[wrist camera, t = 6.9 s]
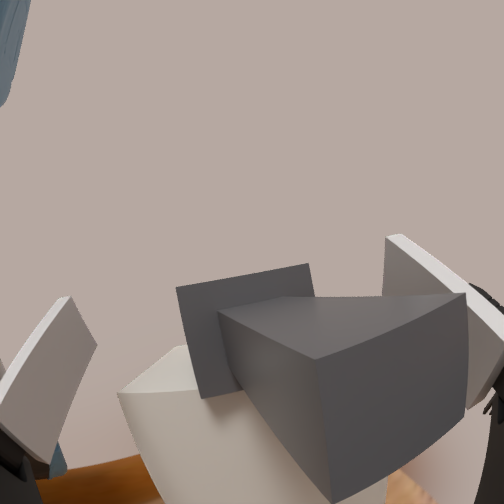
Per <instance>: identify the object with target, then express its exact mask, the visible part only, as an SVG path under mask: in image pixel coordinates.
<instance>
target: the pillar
mask: <svg viewBox="0 0 504 504" xmlns="http://www.w3.org/2000/svg"><path fill="white" fill-rule="evenodd" d="M117 395H118V398H119V401H120V404H121V407H122V410H123V412H124V415H125V418H126V421H127V423H128V426H129V429H130V431H131V434H132V436H133V438H134V441H135V443H136V445H137V448H138V450H139V453H140V455H141V457H142V459H143V462H144V464H145V466H146V468H147V470H148V472H149V474H150V476H151V478H152V480H153V482H154V484H155V486H156V488H157V490H158V492H159V493H160V495H161V497H162V499H163V501H164V502H165V504H331V503H330V502H329V501H328V500H327V499H326V498H325V497H324V495H323V494H322V493H321V492H320V491H319V490H318V488H317V487H316V486H315V485H314V484H313V483H312V481H311V480H310V479H309V478H308V476H307V475H306V474H305V473H304V472H303V470H302V469H301V468H300V467H299V465H298V464H297V463H296V462H295V460H294V459H293V458H292V456H291V455H290V454H289V453H288V451H287V450H286V449H285V447H284V446H283V445H282V443H281V442H280V441H279V439H278V438H277V437H276V435H275V434H274V433H273V431H272V430H271V429H270V427H269V426H268V424H267V423H266V422H265V420H264V419H263V417H262V416H261V415H260V413H259V412H258V410H257V409H256V407H255V406H254V404H253V403H252V402H251V400H250V399H249V397H248V396H247V394H246V393H245V391H244V390H242V391H237V392H233V393H229V394H224V395H220V396H215V397H210V398H205V399H201V397H200V394H199V390H198V386H197V382H196V379H195V375H194V371H193V367H192V362H191V358H190V354H189V350H188V345H181V346H175V347H174V348H173V349H172V350H171V351H169V352H168V353H167V354H166V355H165V356H163V357H162V358H161V359H160V360H158V361H157V362H156V363H155V364H153V365H152V366H151V367H150V368H148V369H147V370H146V371H144V372H143V373H142V374H141V375H139V376H138V377H137V378H136V379H134V380H133V381H132V382H131V383H129V384H128V385H127V386H125V387H124V388H123V389H122V390H121V391H119V392H118V393H117ZM387 482H388V476H387V477H385V478H383V479H382V480H380V481H378V482H377V483H375V484H373V485H371V486H370V487H368V488H366V489H364V490H362V491H360V492H358V493H356V494H355V495H353V496H351V497H349V498H347V499H344V500H342V501H340V502H338V503H336V504H385V500H386V492H387Z"/></svg>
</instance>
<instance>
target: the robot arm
mask: <svg viewBox="0 0 504 504" xmlns="http://www.w3.org/2000/svg"><path fill="white" fill-rule="evenodd" d="M30 2H31V0H0V107H1V106H2V105H3V104H4V103H5V101H6V99H7V97H8V95H9V92H10V88H11V82H12V80H13V78H14V75H15V71H16V66H17V62H18V57H19V53H20V48H21V44H22V39H23V35H24V30H25V26H26V21H27V16H28V12H29V7H30ZM384 259H385V260H384V275H383V276H384V277H383V288H382V296H407V295H430V294H448V293H464V292H466V300H467V313H468V334H469V363H468V383H467V396H466V405H465V407H466V408H467V410H468V409H470V408H472V407H473V406H475V405H476V404H477V403H479V402H481V401H482V400H483V399H484V398H485V397H486V395H487V394H488V392H489V391H490V389H491V388H492V387H493V388H494V390H495V391H496V393H495V394H494V396H493V397H492V399H491V400H490V401H489V403H488V404H487V406H486V407H485V408H484V411H483V414H486V413H487V411H488V410H489V409H490V407H491V406H492V410H491V412H490V413H489V415H492V416H491V425H490V433H489V441H488V447H487V453H486V458H485V463H484V468H483V472H482V477H481V481H480V484H479V488H478V492H477V495H476V498H475V502H474V504H504V307H503V306H500V304H499V303H498V302H497V301H496V300H495V299H492V297H491V296H490V295H489V294H488V293H487V292H485V291H484V290H483V289H481V288H479V287H477V286H475V285H473V284H471V283H469V284H468V283H466V282H465V281H464V280H463V279H461V278H460V277H459V276H458V275H457V274H455V273H454V272H453V271H451V270H450V269H449V268H447V267H446V266H445V265H444V264H442V263H441V262H440V261H438V260H437V259H436V258H434V257H433V256H432V255H430V254H429V253H428V252H426V251H425V250H424V249H422V248H420V247H419V246H418V245H416V244H415V243H414V242H412V241H411V240H409V239H408V238H407V237H405V236H404V235H402V234H396V235H391V236H386V237H385V258H384ZM96 347H97V343H96V342H95V340H94V338H93V337H92V335H91V333H90V331H89V329H88V328H87V326H86V324H85V322H84V320H83V319H82V317H81V315H80V313H79V311H78V309H77V307H76V305H75V303H74V301H73V299H72V297H71V296H68V297H62V298H59V299H58V300H57V301H56V302H55V304H54V305H53V306H52V307H51V309H50V310H49V311H48V313H47V314H46V315H45V316H44V318H43V319H42V320H41V322H40V323H39V324H38V326H37V327H36V328H35V330H34V331H33V333H32V334H31V335H30V337H29V338H28V340H27V341H26V342H25V344H24V345H23V347H22V348H21V350H20V351H19V353H18V354H17V356H16V357H15V359H14V360H13V362H12V363H11V365H10V366H9V368H8V370H7V371H5V368H4V366H3V364H2V362H1V359H0V504H43V502H42V499H41V496H40V494H39V491H38V488H37V485H36V482H35V480H41V479H48V480H49V479H52V478H53V477H58V476H62V475H64V474H66V472H67V464H66V462H65V459H64V456H63V454H62V451H61V448H60V446H59V443H58V438H59V435H60V433H61V430H62V427H63V424H64V422H65V419H66V416H67V414H68V411H69V409H70V406H71V404H72V401H73V399H74V396H75V394H76V391H77V389H78V387H79V384H80V382H81V379H82V377H83V375H84V373H85V370H86V368H87V366H88V364H89V362H90V360H91V357H92V355H93V353H94V351H95V349H96Z"/></svg>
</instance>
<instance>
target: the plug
mask: <svg viewBox="0 0 504 504" xmlns="http://www.w3.org/2000/svg"><path fill="white" fill-rule="evenodd" d="M176 292H177V296H178V302H179V307H180V313H181V317H182V322H183V327H184V332H185V336H186V341H187V345H188V350H189V354H190V358H191V362H192V367H193V371H194V375H195V379H196V382H197V386H198V390H199V394H200V397H201V399H205V398H210V397H215V396H220V395H224V394H229V393H233V392H237V391H242V390H244V391H245V393H246V394H247V396H248V397H249V399H250V400H251V402H252V403H253V404H254V406H255V407H256V409H257V410H258V412H259V413H260V415H261V416H262V417H263V419H264V420H265V422H266V423H267V424H268V426H269V427H270V429H271V430H272V431H273V433H274V434H275V435H276V437H277V438H278V439H279V441H280V442H281V443H282V445H283V446H284V447H285V449H286V450H287V451H288V453H289V454H290V455H291V456H292V458H293V459H294V460H295V462H296V463H297V464H298V465H299V467H300V468H301V469H302V470H303V472H304V473H305V474H306V475H307V476H308V478H309V479H310V480H311V481H312V483H313V484H314V485H315V486H316V487H317V488H318V490H319V491H320V492H321V493H322V494H323V495H324V497H325V498H326V499H327V500H328V501H329V502H330V503H331V504H336V503H338V502H340V501H342V500H344V499H347V498H349V497H351V496H353V495H355V494H356V493H358V492H360V491H362V490H364V489H366V488H368V487H370V486H371V485H373V484H375V483H377V482H378V481H380V480H382V479H383V478H385V477H387V476H388V475H390V474H391V473H393V472H395V471H396V470H398V469H399V468H401V467H402V466H404V465H405V464H406V463H408V462H409V461H411V460H412V459H414V458H415V457H416V456H418V455H419V454H421V453H422V452H423V451H425V450H426V449H427V448H429V447H430V446H431V445H432V444H434V443H435V442H436V441H437V440H438V439H440V438H441V437H442V436H443V435H445V434H446V433H447V432H448V431H449V430H450V429H451V428H453V427H454V426H455V425H456V424H457V423H458V422H459V421H460V420H461V419H462V418H463V417H464V413H465V405H466V396H467V383H468V363H469V334H468V313H467V300H466V292H464V293H448V294H430V295H407V296H374V297H315V295H314V289H313V284H312V279H311V274H310V268H309V264H308V263H306V264H301V265H296V266H291V267H286V268H280V269H275V270H270V271H264V272H259V273H254V274H248V275H243V276H238V277H232V278H226V279H220V280H215V281H209V282H203V283H198V284H192V285H186V286H180V287H176Z"/></svg>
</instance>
